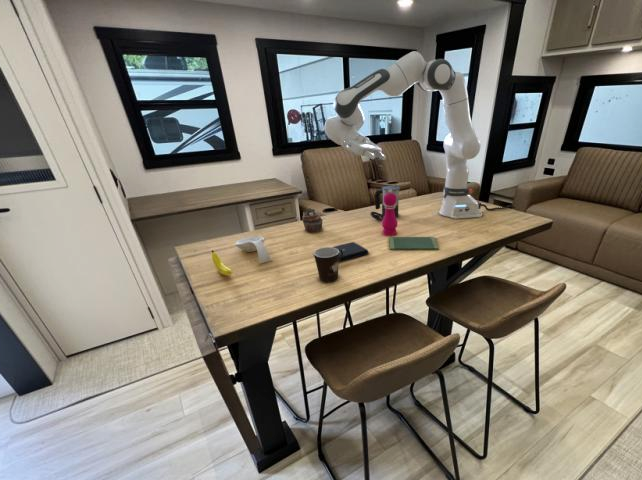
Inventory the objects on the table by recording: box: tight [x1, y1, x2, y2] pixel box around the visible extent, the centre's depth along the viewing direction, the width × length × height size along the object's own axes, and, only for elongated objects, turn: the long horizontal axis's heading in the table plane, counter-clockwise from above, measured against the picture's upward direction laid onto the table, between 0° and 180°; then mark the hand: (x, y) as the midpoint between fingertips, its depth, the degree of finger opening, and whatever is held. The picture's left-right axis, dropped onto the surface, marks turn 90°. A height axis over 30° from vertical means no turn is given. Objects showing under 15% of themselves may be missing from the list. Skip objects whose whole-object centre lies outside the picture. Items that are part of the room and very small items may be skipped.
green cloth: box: [389, 236, 439, 251], centre depth 137 cm, size 20×13×1 cm, turn 88°
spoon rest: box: [235, 236, 272, 265], centre depth 130 cm, size 24×12×7 cm, turn 36°
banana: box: [211, 250, 233, 277], centre depth 115 cm, size 3×19×6 cm, turn 40°
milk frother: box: [370, 185, 401, 221], centre depth 165 cm, size 14×16×15 cm
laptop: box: [332, 241, 370, 262], centre depth 129 cm, size 16×20×2 cm
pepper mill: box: [381, 190, 398, 237], centre depth 143 cm, size 7×7×20 cm
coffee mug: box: [313, 246, 343, 284], centre depth 110 cm, size 12×9×10 cm
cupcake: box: [301, 208, 324, 234], centre depth 152 cm, size 10×10×10 cm
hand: (379, 158), depth 136 cm, fingers open, 8 cm apart
